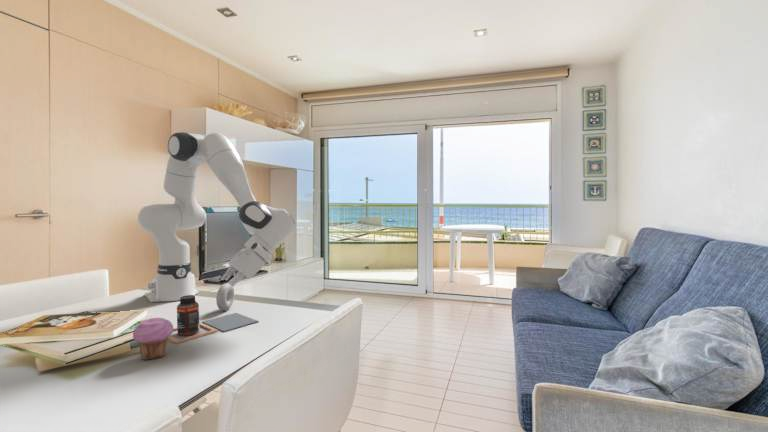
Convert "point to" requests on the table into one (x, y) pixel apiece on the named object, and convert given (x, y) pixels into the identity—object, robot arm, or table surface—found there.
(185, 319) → the supplement bottle
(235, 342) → the table surface
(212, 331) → the frame
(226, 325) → the mat
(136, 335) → the cupcake
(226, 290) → the white toy tire
